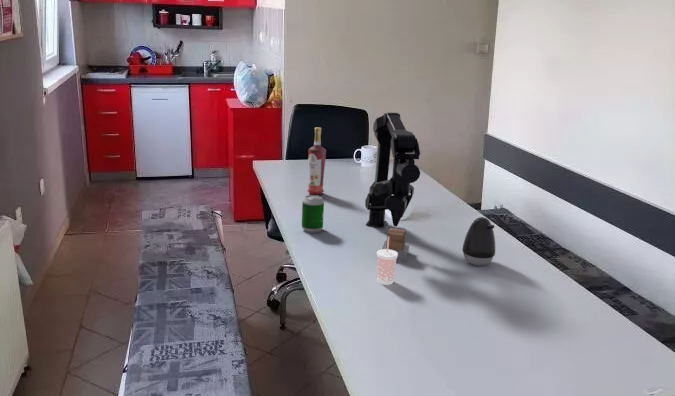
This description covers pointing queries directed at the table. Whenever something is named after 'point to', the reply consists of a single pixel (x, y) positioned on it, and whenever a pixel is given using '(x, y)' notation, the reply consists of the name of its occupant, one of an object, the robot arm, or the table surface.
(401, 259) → the slate block
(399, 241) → the walnut cube
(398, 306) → the table surface
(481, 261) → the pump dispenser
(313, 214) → the soda can
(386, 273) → the beverage cup
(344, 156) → the table surface
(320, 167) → the liquor
